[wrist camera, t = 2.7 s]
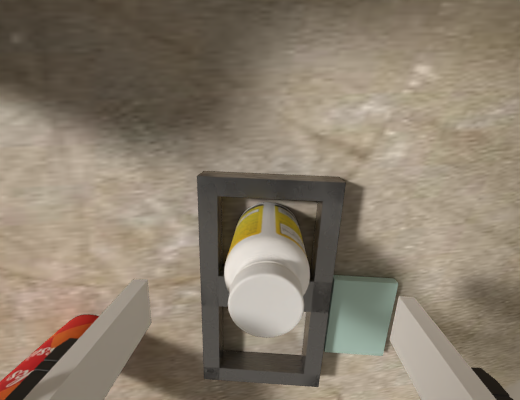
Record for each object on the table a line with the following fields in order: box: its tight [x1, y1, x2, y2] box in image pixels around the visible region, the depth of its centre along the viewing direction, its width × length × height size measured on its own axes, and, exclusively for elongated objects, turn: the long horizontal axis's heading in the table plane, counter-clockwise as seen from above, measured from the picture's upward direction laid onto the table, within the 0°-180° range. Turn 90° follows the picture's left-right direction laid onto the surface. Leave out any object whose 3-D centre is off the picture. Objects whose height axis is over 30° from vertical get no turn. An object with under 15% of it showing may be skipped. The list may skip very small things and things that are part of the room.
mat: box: [324, 275, 398, 356], centre depth 25 cm, size 8×6×1 cm
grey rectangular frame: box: [197, 171, 346, 387], centre depth 23 cm, size 20×11×2 cm, turn 178°
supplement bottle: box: [224, 202, 310, 338], centre depth 18 cm, size 5×5×10 cm
